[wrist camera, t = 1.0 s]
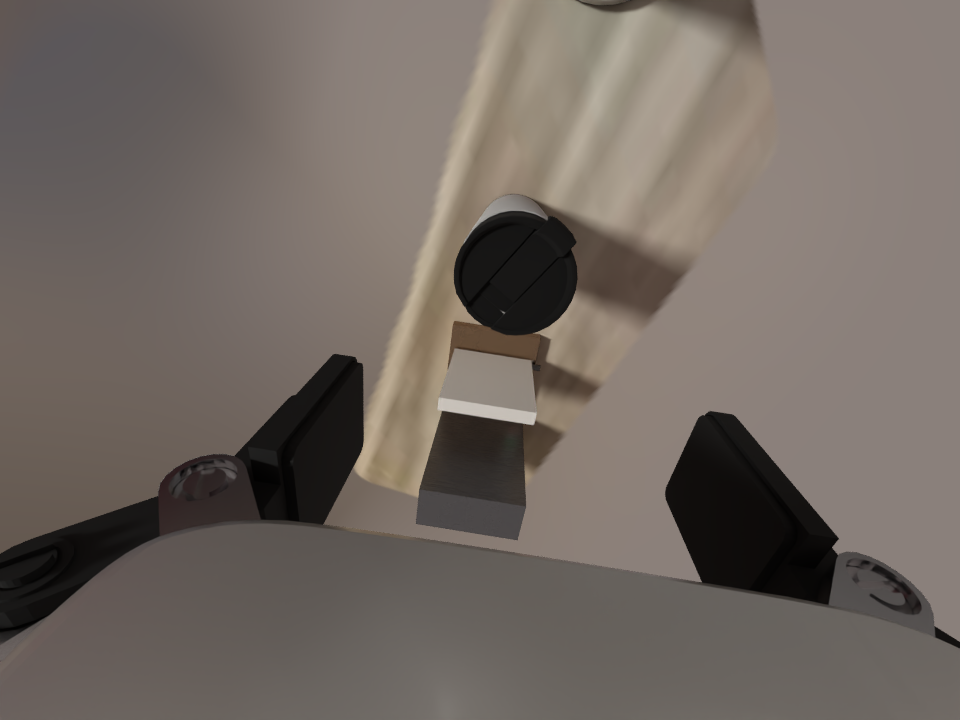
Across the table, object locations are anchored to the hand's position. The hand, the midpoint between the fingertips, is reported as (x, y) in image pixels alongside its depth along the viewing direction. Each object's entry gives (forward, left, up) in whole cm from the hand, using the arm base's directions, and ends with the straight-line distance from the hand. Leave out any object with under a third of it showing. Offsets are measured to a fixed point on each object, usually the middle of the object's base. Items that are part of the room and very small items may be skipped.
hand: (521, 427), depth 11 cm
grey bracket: (+15, 0, -30) cm, 34 cm away
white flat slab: (+11, 0, -28) cm, 31 cm away
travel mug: (-2, 0, -30) cm, 30 cm away
